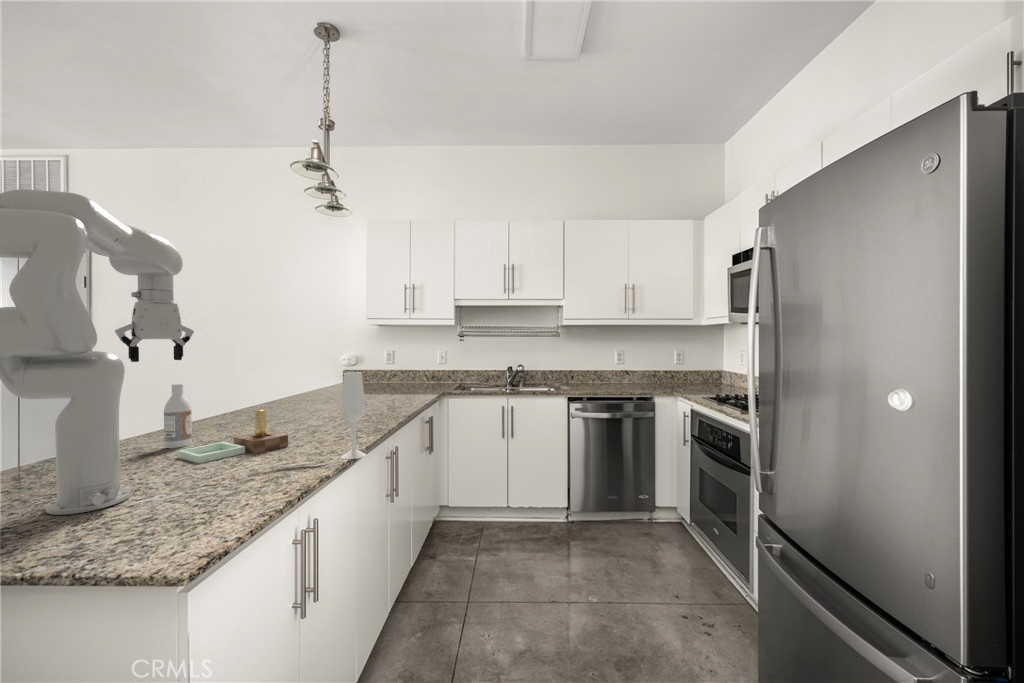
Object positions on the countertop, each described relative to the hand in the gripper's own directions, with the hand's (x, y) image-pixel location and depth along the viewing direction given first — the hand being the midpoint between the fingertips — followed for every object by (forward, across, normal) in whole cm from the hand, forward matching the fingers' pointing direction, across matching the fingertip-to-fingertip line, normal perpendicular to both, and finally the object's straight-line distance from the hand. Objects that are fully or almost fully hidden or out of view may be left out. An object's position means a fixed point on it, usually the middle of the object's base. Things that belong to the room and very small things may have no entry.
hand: (157, 360), depth 119 cm
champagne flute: (+28, +32, -40) cm, 59 cm away
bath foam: (+28, +12, +18) cm, 36 cm away
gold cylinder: (+28, +23, -8) cm, 37 cm away
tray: (+28, +11, -5) cm, 31 cm away
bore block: (+28, +24, -8) cm, 38 cm away
